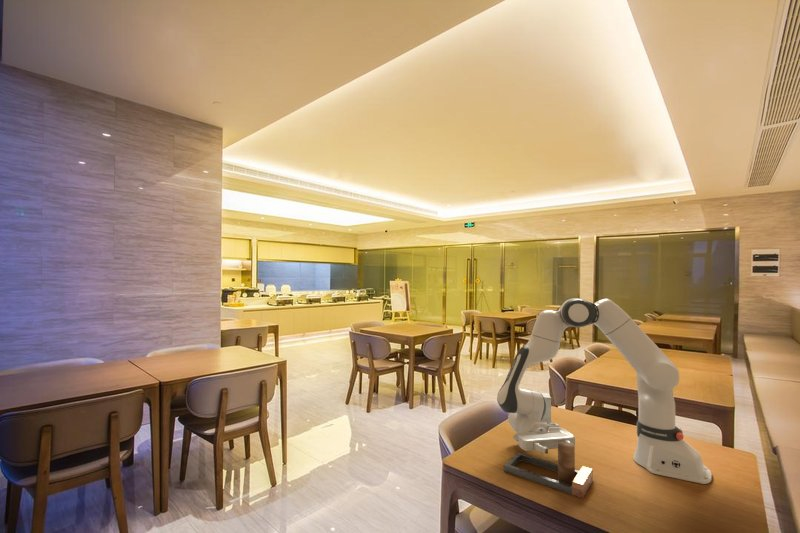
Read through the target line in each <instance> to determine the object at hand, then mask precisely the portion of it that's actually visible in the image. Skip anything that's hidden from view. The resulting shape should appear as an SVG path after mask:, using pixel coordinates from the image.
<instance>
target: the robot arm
mask: <svg viewBox="0 0 800 533" xmlns="http://www.w3.org/2000/svg"><path fill="white" fill-rule="evenodd" d="M592 324H593V325H595V326H596V327H597V328H598V329H599V330H600V332H602V334H603V335H604V336H605V337H606V338H607V340H609V342H610V343H611V344H612V345H613V347H615V349H616V350H617V351H618V352H619V353H620V354H621V355H622V356H623V358H624V359H625V360H626V361H627V362H628V364H630V366H631V368H633V370H634V371H635V373H636V385H637V397H638V398H637V399H638V405H637V406H638V419H637V421H636V435H637V442H636V447H635V452H634V455H633V458H632V459H633V460H634V462H635V463H636V464H638V465H639V466H641V467H643V468H644V469H646V470H647V471H648V472H649V473H651V474H655V475H659V476H663V477H668V478H673V479H677V480H681V481H687V482H692V483H696V484H702V485H706V484H709V483H711V482H712V480H713V477H712V476H713V474H712V472H711V470H710V469H709V467H707V466H706V465H705V464H704V463H703V459H702V455H701V454H700V453H699V451H698V450H696V449H695V448H694V447H693V446H691V445H690V444H689V443H688V442H687V441H686V440H685V439H684V433H683V430H682V428H681V427H680V428H679V427H677V426H676V402H675V396H674V390H673V389H675V388H676V387H677V386H678V384H679V382H680V371H679V369H678V368H677V366H676V365H675V364H674V363H673V362H672V360H671V359H670V358H669V357H668V356H667V354H665V353H664V352H663V351H662V349H661V348H660V347H658V345H657V344H656V343H655V342H654V341H653V340H652V339H651V338H650V337H649V336H648V335H647V334H646V333H645V332H644V331H643V330H642V328H641V327H640V326H639V325H638V324H637V322H635V321H634V320H633V318H632V317H631V316H630V315H629V314H628V313H627V312H626V311H625V310H624V309H622V308H621V307H620V305H619V304H617V303H615V302H614V301H613V300H612V299H609V298H603V299H600V300H596V302H590V301H587V300H585V299H582V298H578V297H577V298H570V299H567V300H565V301H564V302H563V303H561V305H560V306H559V307H558V308H557V309H556V310H551V309H544V310H542V311H541V312H539V314H538V315H537V317H536V320H535V322H534V325H533V328H532V332H531V335H530V338H529V339H528V342H526V344H525V345H524V346H521V347H520V348H519V350H518V351H517V353H516V354H515V357H514V359H513V360H512V361H513V362H512V365H511V366H510V368H509V371H508V373H507V376H506V378H505V381H504V382H503V384H502V386H501V388H500V389H499V391H498V393H497V397H496V398H497V399H496V401H497V404H498V405H499V407H500V408H501V410H502V411H503V412H504V413H508V416H507V422H508V423H509V426H510V427H511V428H512V430H513V431H514V432H515V434H513V435H512V439H513V440H514V441H515V442H516V443H517V445H518V446H519V447H520V448H521V449H522V450H523V451H525V452H528V451H536V452H540V453H542V454H543V455H544V454H549V450H553V449H554V450H555V449H558V443H559V442H569V443H572V444H573V445H574V446H575V447H576V436H575V435H574V434H572V433H571V432H570V431H569V430H568V429H565V428H563V427H560V425H559V424H558V423H555V422H551V423H547V422H543V421H541V420H542V419H543V417H544V414H545V411H546V402H545V399H544V397H543V395H542V394H541V393H542V392H540V391H539V390H532V389H527V388H522V387H519V386H520V384H521V381H522V380H523V377H524V374H525V372H526V370H527V369H528V368H529V367H530V366H532V365H534V364H538V363H543V362H548V361H550V360H552V359H554V358H555V357H556V356H557V354H558V353H559V351H560V346H561V343H562V337H563V334H564V332H565V330H566V329H568V328H569V327H570V328H571V327H572V328H582V327H583V328H584V327H587V326H590V325H592Z"/></svg>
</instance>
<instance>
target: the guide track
mask: <svg viewBox="0 0 800 533" xmlns="http://www.w3.org/2000/svg"><path fill="white" fill-rule="evenodd" d="M520 462H525V463H527V464H530V465H533V466H536V467H541V468H544V469H546V470H549V471H553V472H556V473H558V463H554V462H552V461H548V460H545V459H542V458H538V457H535V456H533V455H532V456H531V455H529V454H526V453H522V452H516V454H515V455H513V456H512V457H511V458H510V459H509V460H508V461H506V463H505V464H504V465H503V471H504V472H505V473H508V474H511V475H514V476H517V477H520V478H523V479H526V480H528V481H531V482H534V483H538V484H539V485H544V486H546V487H549V488H551V489H555V490H558V491H561V492H564V493H566V494H570V495H572V496H575V497H578V498H581V499H584V496H585V495H586V494H587V492H588V490H589V488H590V487H591V485H592V483H593V481H594V480H593V471H594V470H593V468H590V467H588V466H585V465H582V466H581V467H580V468H579V470H577V469H575V478H574V480H573V481H572V485H569V484H566V483H563V482H560V481H558V479H553V478H551V477H547V476H545V475H541V474H538V473H536V472H533V471H530V470H526V469H524V468H521V467H517V465H518V464H519V463H520Z"/></svg>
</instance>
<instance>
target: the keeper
mask: <svg viewBox="0 0 800 533" xmlns="http://www.w3.org/2000/svg"><path fill="white" fill-rule="evenodd" d="M575 447H576V445H575V446H574V445H573V444H572V443H569V442H559V443H558V448H557V464H558V472H557V481H560V482H563V483H566V484H569V485H572V481H573V480H574V478H575V470H576V469H575V468H576V466H575V464H576V462H575V459H576V458H575V457H576V453H575V452H576V450H575V449H576V448H575Z"/></svg>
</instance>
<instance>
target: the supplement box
mask: <svg viewBox="0 0 800 533" xmlns="http://www.w3.org/2000/svg"><path fill="white" fill-rule="evenodd" d="M540 393H541V394H542V395H543V397H544V399H545V402H546V411H545V414H544V417H543V419H542V420H541V421H543V422H547V423H552V397H551V396H550V394H549V392H540Z"/></svg>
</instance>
